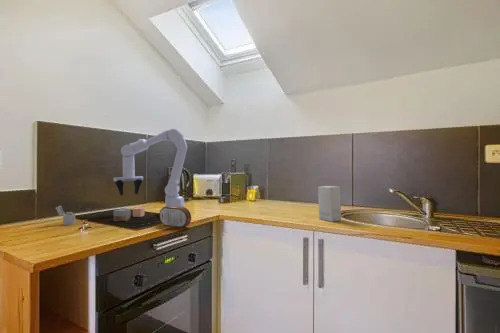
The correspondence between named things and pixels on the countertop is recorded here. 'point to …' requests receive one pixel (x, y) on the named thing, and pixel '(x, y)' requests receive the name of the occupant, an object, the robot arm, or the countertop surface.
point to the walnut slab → (121, 218)
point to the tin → (175, 216)
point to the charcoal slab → (122, 212)
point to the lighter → (66, 216)
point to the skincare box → (329, 203)
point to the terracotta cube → (138, 212)
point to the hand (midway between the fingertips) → (129, 194)
